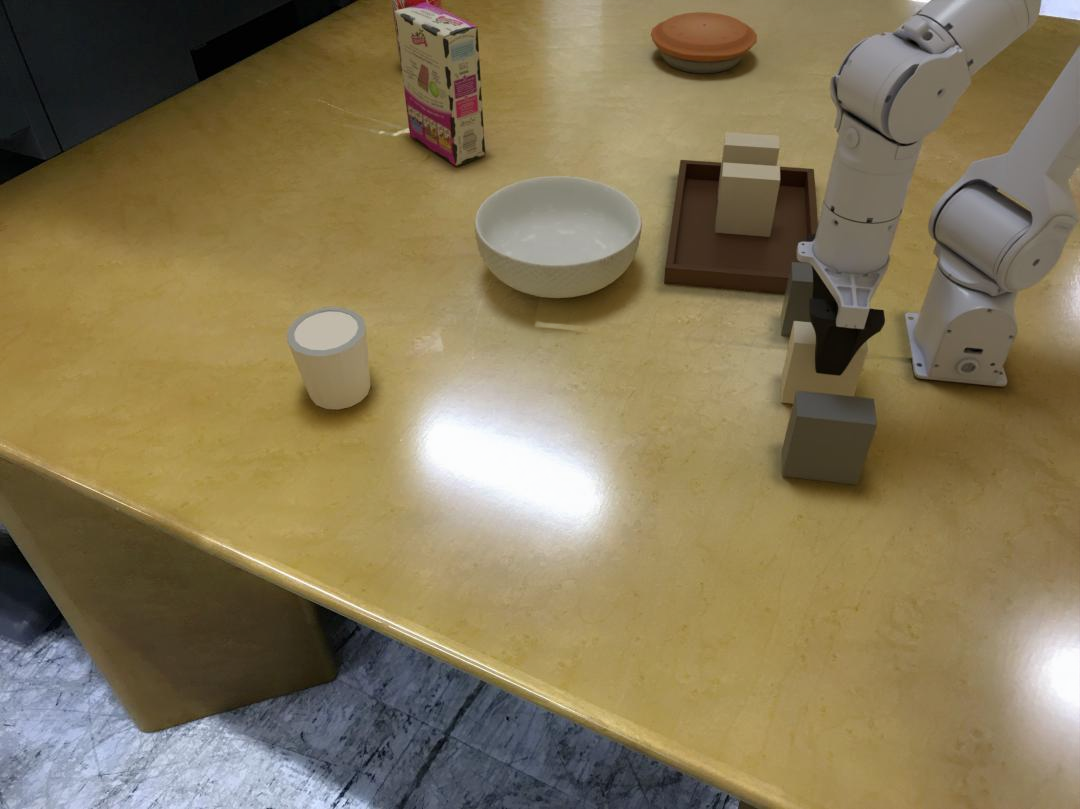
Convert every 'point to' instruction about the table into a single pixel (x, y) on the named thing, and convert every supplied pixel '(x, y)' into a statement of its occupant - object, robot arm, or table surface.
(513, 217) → the cereal bowl
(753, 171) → the white book
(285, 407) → the table surface
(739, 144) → the white book
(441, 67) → the candy bar box
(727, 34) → the pie
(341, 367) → the white cup
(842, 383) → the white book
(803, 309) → the gray rectangular block
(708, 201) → the book tray
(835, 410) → the grey book
